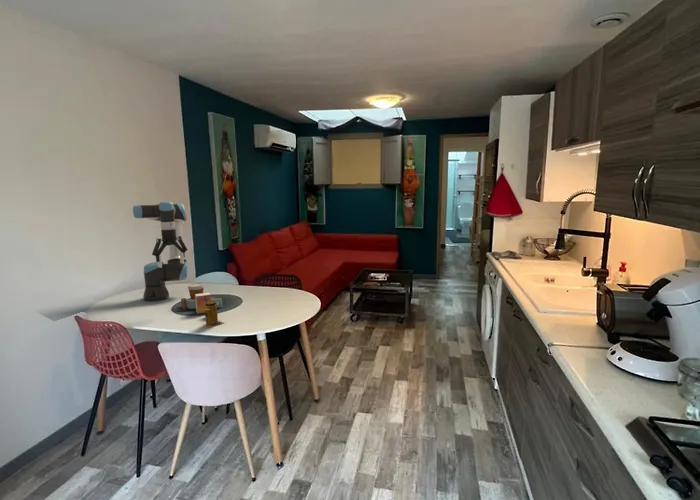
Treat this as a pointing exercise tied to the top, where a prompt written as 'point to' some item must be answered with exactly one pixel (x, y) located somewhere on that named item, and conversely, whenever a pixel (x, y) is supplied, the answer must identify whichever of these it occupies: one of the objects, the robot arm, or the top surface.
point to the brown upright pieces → (183, 303)
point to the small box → (202, 301)
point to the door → (192, 303)
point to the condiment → (211, 314)
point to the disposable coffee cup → (195, 289)
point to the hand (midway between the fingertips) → (171, 265)
